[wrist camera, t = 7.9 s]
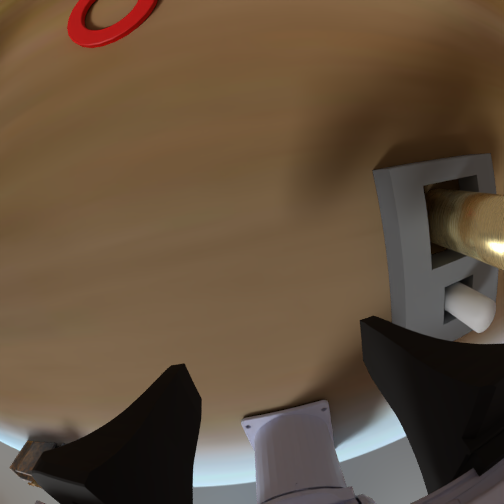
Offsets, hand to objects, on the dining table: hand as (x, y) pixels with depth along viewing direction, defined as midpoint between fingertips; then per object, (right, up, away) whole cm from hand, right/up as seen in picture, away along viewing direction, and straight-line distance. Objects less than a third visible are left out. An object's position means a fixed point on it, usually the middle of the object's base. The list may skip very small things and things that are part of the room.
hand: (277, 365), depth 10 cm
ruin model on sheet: (-31, -24, +15) cm, 42 cm away
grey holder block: (+15, +4, +9) cm, 18 cm away
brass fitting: (+14, +7, +8) cm, 18 cm away
